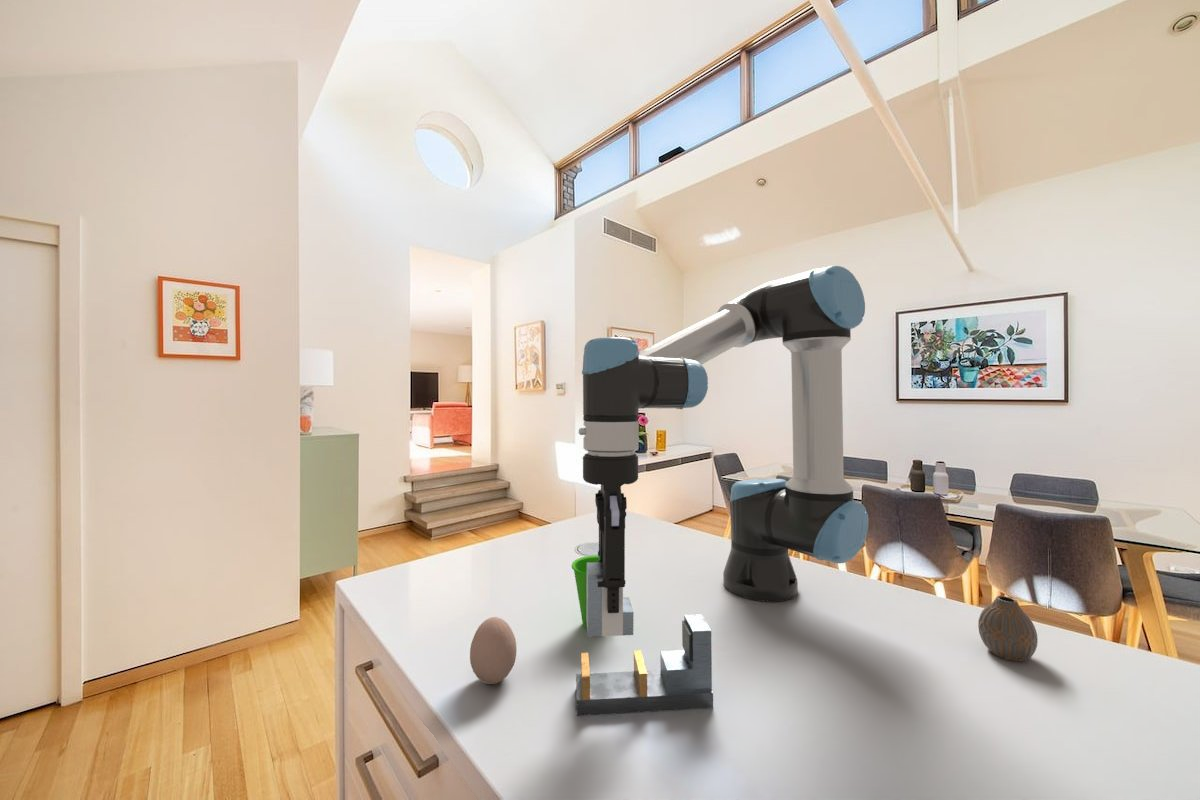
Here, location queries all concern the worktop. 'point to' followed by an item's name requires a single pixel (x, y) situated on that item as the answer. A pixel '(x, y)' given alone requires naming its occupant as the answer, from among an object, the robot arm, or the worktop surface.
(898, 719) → the worktop surface
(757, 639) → the worktop surface
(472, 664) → the egg
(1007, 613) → the vase
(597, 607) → the l-shaped step block
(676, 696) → the rail
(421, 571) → the worktop surface
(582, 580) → the cup
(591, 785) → the worktop surface
